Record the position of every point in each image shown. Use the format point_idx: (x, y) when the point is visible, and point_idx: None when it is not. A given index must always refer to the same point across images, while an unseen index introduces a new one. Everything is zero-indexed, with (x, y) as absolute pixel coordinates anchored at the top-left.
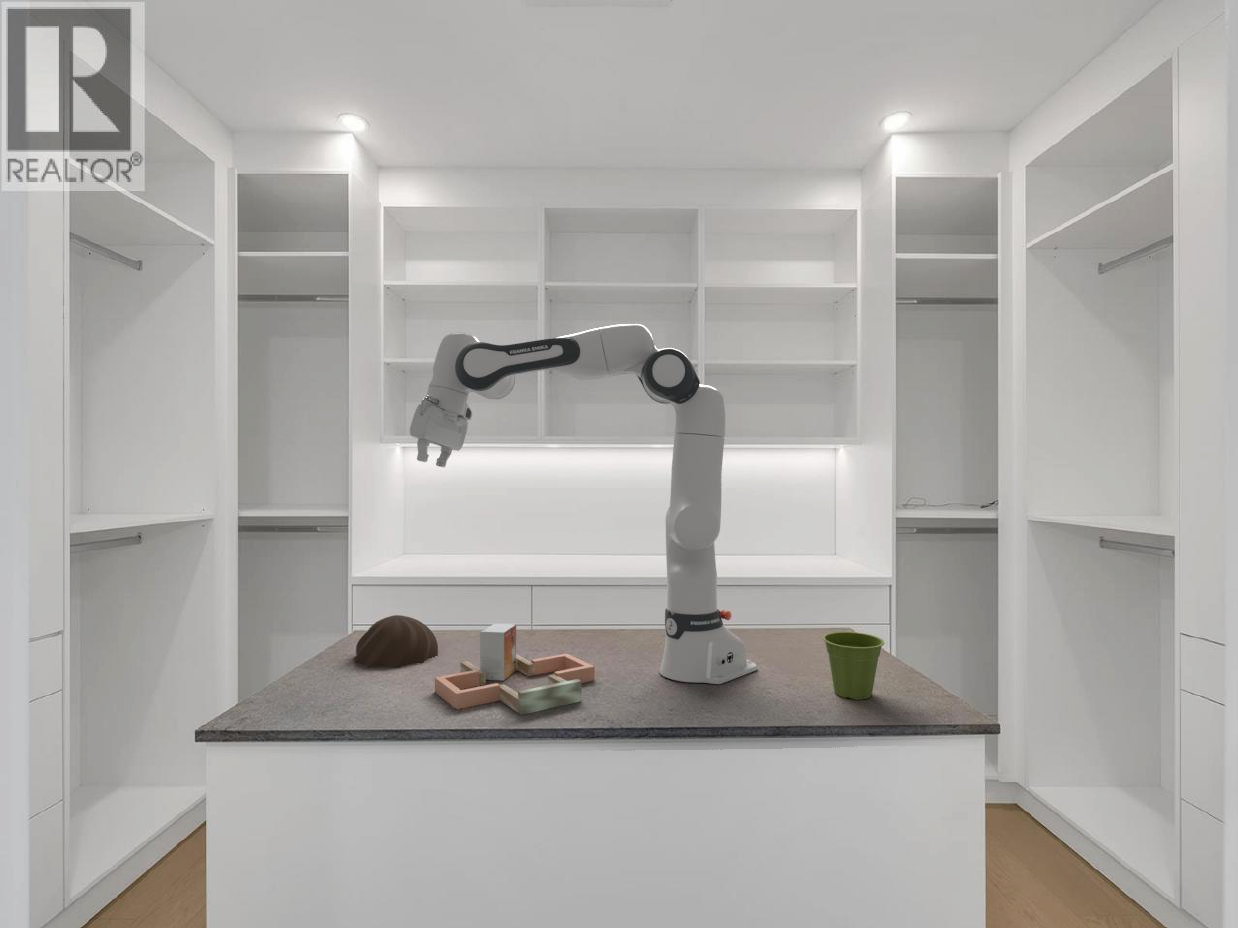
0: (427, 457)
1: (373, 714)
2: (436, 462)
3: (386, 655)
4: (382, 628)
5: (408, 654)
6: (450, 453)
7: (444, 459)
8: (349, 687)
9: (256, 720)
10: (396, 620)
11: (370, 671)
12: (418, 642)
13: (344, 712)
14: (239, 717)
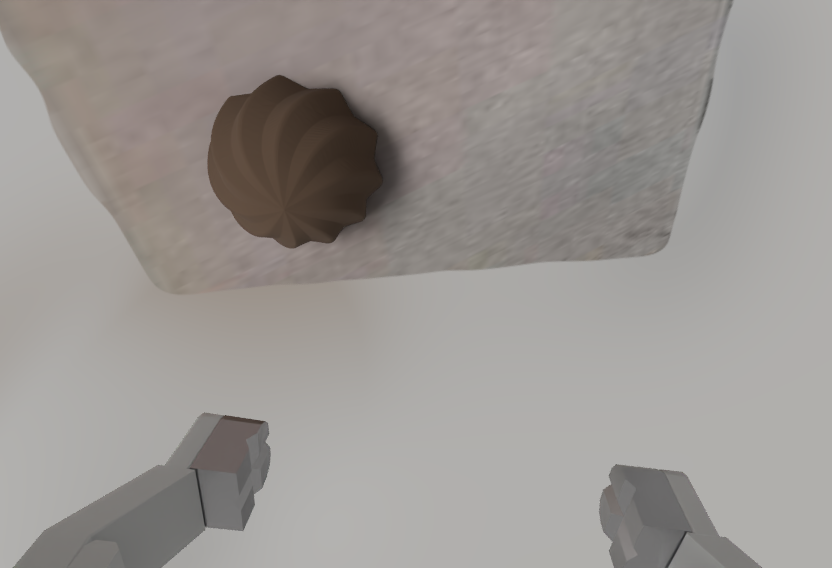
0: (645, 498)
1: (649, 49)
2: (259, 489)
3: (370, 162)
4: (336, 207)
5: (352, 122)
6: (67, 535)
7: (196, 482)
8: (500, 160)
9: (641, 216)
10: (306, 194)
11: (408, 167)
12: (317, 118)
13: (629, 107)
14: (625, 242)
